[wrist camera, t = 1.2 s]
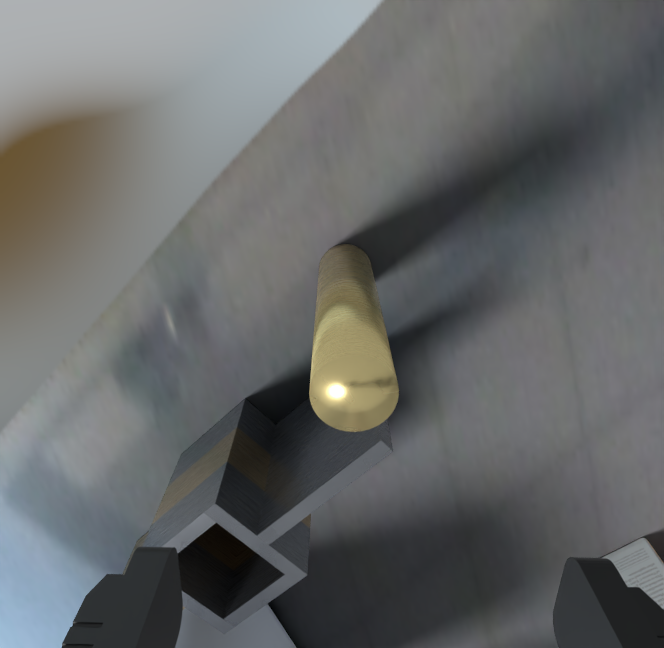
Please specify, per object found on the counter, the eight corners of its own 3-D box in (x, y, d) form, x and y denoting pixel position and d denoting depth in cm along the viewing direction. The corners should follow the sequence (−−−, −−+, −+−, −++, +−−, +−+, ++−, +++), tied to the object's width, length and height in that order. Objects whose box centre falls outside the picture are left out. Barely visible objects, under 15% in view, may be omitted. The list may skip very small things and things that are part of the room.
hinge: (337, 317, 32) (339, 401, 23) (405, 384, 34) (431, 486, 25) (106, 519, 38) (38, 647, 29) (174, 567, 40) (129, 701, 31)
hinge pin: (373, 244, 31) (402, 354, 18) (370, 295, 32) (395, 433, 19) (319, 243, 31) (309, 352, 18) (318, 294, 32) (308, 430, 19)
